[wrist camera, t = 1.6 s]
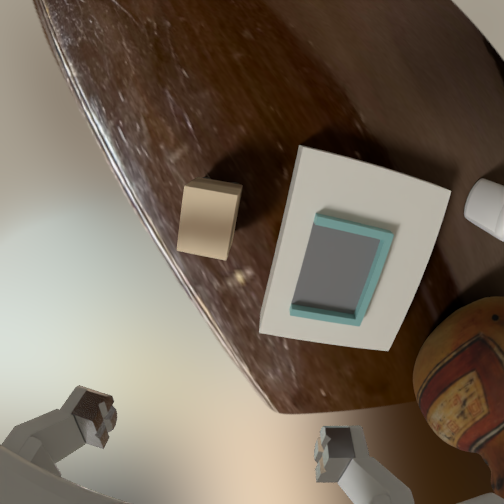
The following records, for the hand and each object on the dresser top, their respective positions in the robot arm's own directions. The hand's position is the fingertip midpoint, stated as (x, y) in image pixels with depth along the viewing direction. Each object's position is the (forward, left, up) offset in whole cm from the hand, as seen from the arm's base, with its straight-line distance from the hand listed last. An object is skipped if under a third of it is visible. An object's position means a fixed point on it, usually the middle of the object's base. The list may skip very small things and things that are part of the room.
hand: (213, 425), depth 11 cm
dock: (+1, +11, -25) cm, 28 cm away
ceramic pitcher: (+11, +34, -26) cm, 44 cm away
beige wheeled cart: (-1, -4, -25) cm, 26 cm away
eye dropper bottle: (-9, +26, -26) cm, 38 cm away
